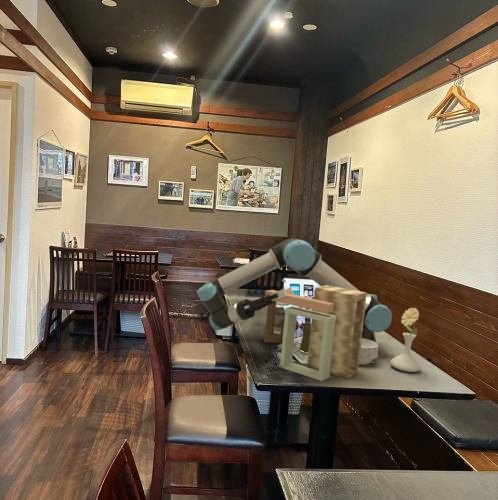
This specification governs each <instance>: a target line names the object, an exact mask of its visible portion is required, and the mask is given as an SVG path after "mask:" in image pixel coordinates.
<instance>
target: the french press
mask: <svg viewBox="0 0 498 500" xmlns="http://www.w3.org/2000/svg"><path fill="white" fill-rule="evenodd" d="M281 282H283V284H282V287H284V283H286V282H287V280H286V279H284V278H283V279H282V280H281ZM276 306H280V307H282V306H283V307H284V306H291V305H290V304H286V303H281V302H276ZM284 315H285V309H282V308H279V309H278V308H276V311H275V322H274V324H275V323H276V322H277V321H278V320H280V319H281V318H282V317H283V316H284ZM273 333H277V334H281V327H274V332H273Z"/></svg>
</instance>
